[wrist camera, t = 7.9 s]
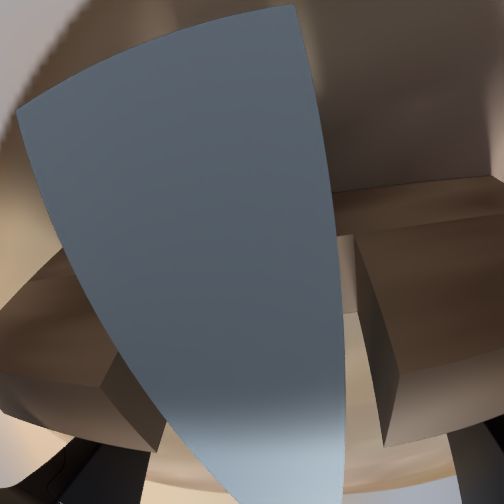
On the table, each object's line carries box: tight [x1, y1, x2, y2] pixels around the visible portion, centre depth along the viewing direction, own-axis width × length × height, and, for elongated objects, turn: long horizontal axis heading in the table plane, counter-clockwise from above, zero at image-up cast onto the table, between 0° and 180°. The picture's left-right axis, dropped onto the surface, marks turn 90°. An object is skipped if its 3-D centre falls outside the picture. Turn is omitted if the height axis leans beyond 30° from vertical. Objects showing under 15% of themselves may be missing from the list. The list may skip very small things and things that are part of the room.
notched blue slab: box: [16, 4, 346, 504], centre depth 7 cm, size 2×10×6 cm, turn 12°
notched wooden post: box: [0, 176, 504, 453], centre depth 7 cm, size 14×2×6 cm, turn 102°
